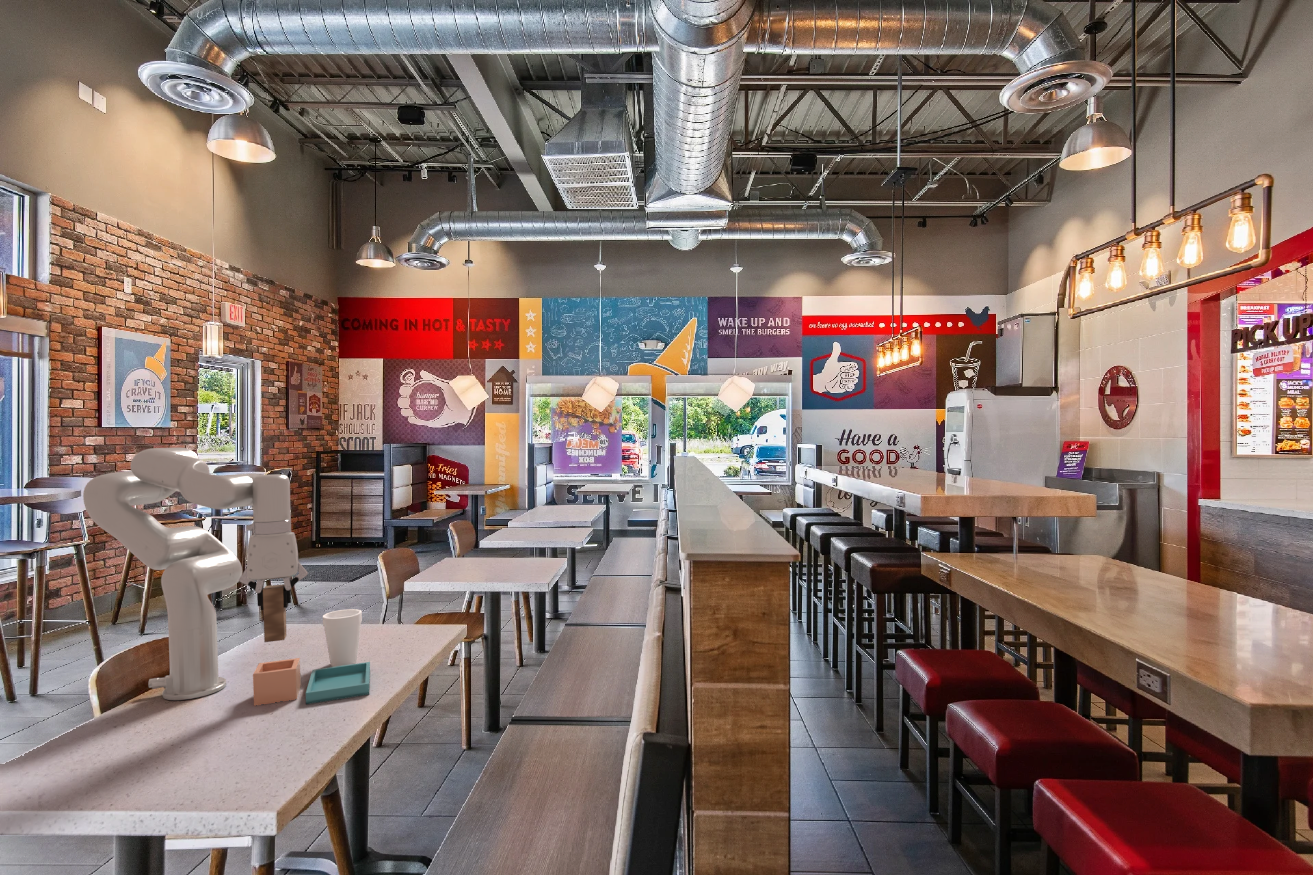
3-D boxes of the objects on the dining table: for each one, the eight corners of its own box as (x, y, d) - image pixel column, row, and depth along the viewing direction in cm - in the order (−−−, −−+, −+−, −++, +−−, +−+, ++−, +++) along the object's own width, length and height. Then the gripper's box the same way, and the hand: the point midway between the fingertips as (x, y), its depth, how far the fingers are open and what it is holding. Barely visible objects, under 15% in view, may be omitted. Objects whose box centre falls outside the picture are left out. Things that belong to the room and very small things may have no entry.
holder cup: (253, 705, 154) (252, 674, 154) (260, 692, 162) (259, 663, 162) (296, 699, 157) (295, 668, 157) (300, 686, 165) (299, 657, 165)
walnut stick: (264, 642, 157) (262, 589, 157) (267, 637, 160) (265, 585, 160) (284, 639, 158) (282, 587, 158) (286, 635, 162) (285, 584, 162)
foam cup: (353, 668, 177) (351, 618, 177) (317, 669, 177) (315, 619, 177) (369, 656, 186) (367, 608, 186) (335, 657, 187) (333, 609, 187)
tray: (306, 704, 154) (305, 693, 154) (312, 679, 170) (312, 669, 170) (369, 694, 159) (368, 683, 159) (370, 671, 174) (369, 661, 174)
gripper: (227, 533, 153) (229, 616, 153) (311, 527, 159) (313, 607, 159) (233, 529, 159) (236, 608, 160) (314, 523, 166) (316, 600, 166)
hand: (274, 606), depth 159 cm, fingers closed on walnut stick, 4 cm apart
